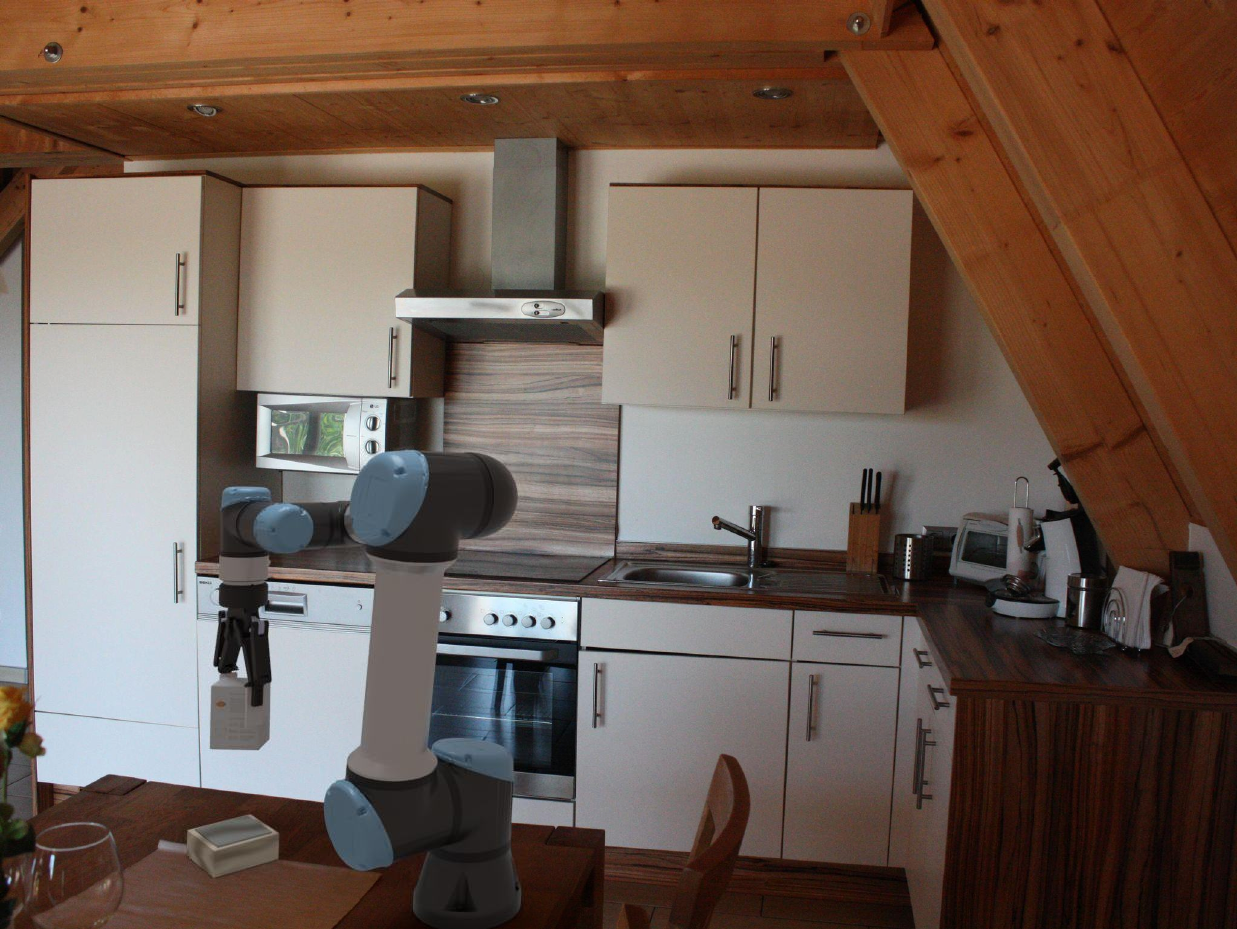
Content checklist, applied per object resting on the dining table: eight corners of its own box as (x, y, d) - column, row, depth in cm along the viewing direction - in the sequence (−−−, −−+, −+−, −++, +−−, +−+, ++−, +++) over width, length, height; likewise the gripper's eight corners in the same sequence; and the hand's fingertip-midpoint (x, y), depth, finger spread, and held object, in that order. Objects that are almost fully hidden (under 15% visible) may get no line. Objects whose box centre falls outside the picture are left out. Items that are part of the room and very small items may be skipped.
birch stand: (278, 859, 149) (279, 831, 149) (213, 877, 142) (214, 849, 142) (249, 838, 156) (250, 812, 156) (186, 855, 149) (187, 828, 149)
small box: (270, 740, 161) (272, 677, 160) (259, 751, 155) (261, 686, 155) (221, 739, 160) (223, 676, 160) (208, 749, 155) (210, 684, 154)
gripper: (297, 588, 152) (293, 729, 152) (237, 572, 167) (234, 701, 168) (251, 591, 147) (247, 738, 147) (193, 575, 162) (190, 708, 163)
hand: (240, 718), depth 157 cm, fingers closed on small box, 9 cm apart
